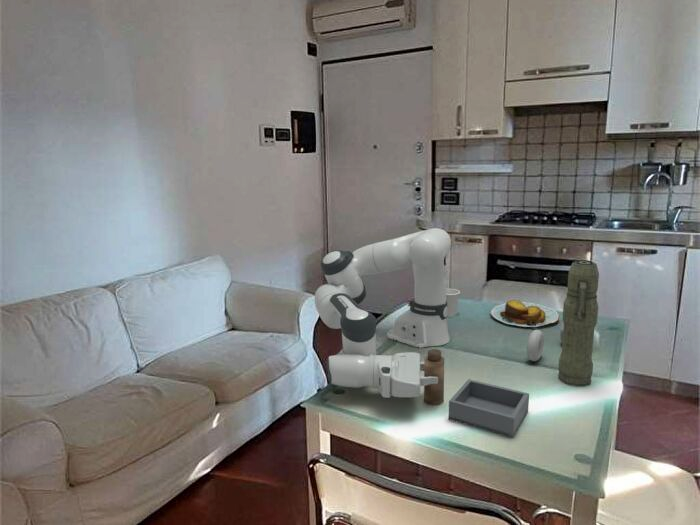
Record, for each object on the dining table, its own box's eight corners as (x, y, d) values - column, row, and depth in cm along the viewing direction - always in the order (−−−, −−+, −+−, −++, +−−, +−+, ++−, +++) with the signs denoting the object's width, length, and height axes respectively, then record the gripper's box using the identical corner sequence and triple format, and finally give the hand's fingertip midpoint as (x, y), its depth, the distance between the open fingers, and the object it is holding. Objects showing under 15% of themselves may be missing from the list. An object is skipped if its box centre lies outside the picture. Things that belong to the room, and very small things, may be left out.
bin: (448, 419, 124) (448, 401, 123) (467, 395, 135) (468, 379, 134) (513, 437, 115) (514, 418, 114) (528, 411, 127) (529, 393, 126)
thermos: (588, 372, 148) (598, 258, 140) (594, 390, 137) (606, 267, 129) (556, 369, 150) (564, 256, 143) (559, 386, 139) (569, 266, 132)
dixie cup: (440, 310, 207) (441, 287, 204) (461, 312, 203) (461, 289, 201) (436, 317, 199) (436, 293, 197) (457, 319, 196) (457, 295, 194)
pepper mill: (421, 402, 133) (421, 353, 130) (428, 394, 137) (429, 346, 134) (439, 406, 130) (439, 357, 127) (446, 398, 134) (447, 350, 131)
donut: (535, 367, 152) (537, 336, 150) (524, 364, 154) (526, 334, 152) (544, 356, 160) (546, 326, 158) (533, 353, 162) (535, 324, 160)
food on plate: (572, 322, 191) (573, 306, 189) (527, 335, 179) (528, 318, 177) (520, 305, 212) (521, 290, 211) (477, 315, 200) (477, 300, 199)
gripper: (388, 366, 144) (436, 368, 142) (383, 400, 125) (438, 403, 123) (388, 346, 143) (436, 347, 141) (382, 377, 123) (439, 380, 121)
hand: (437, 374), depth 132 cm, fingers closed on pepper mill, 5 cm apart
